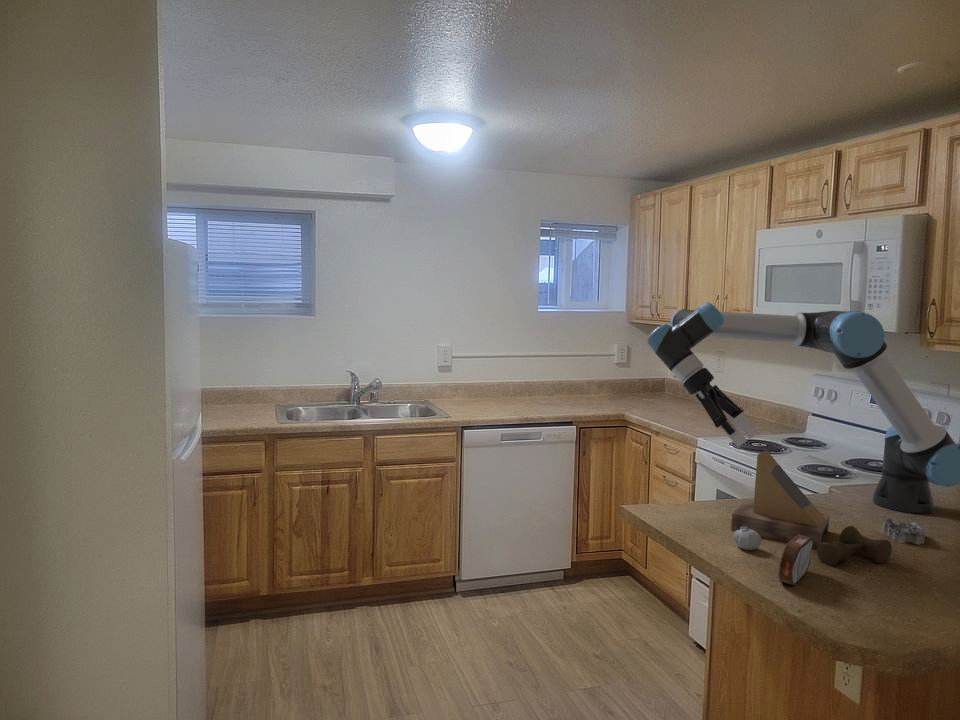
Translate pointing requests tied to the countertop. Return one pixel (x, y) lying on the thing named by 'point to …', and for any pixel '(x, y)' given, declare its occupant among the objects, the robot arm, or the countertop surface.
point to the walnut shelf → (776, 525)
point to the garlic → (747, 538)
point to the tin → (795, 559)
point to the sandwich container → (781, 494)
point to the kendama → (853, 548)
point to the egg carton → (904, 531)
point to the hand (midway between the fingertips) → (748, 439)
